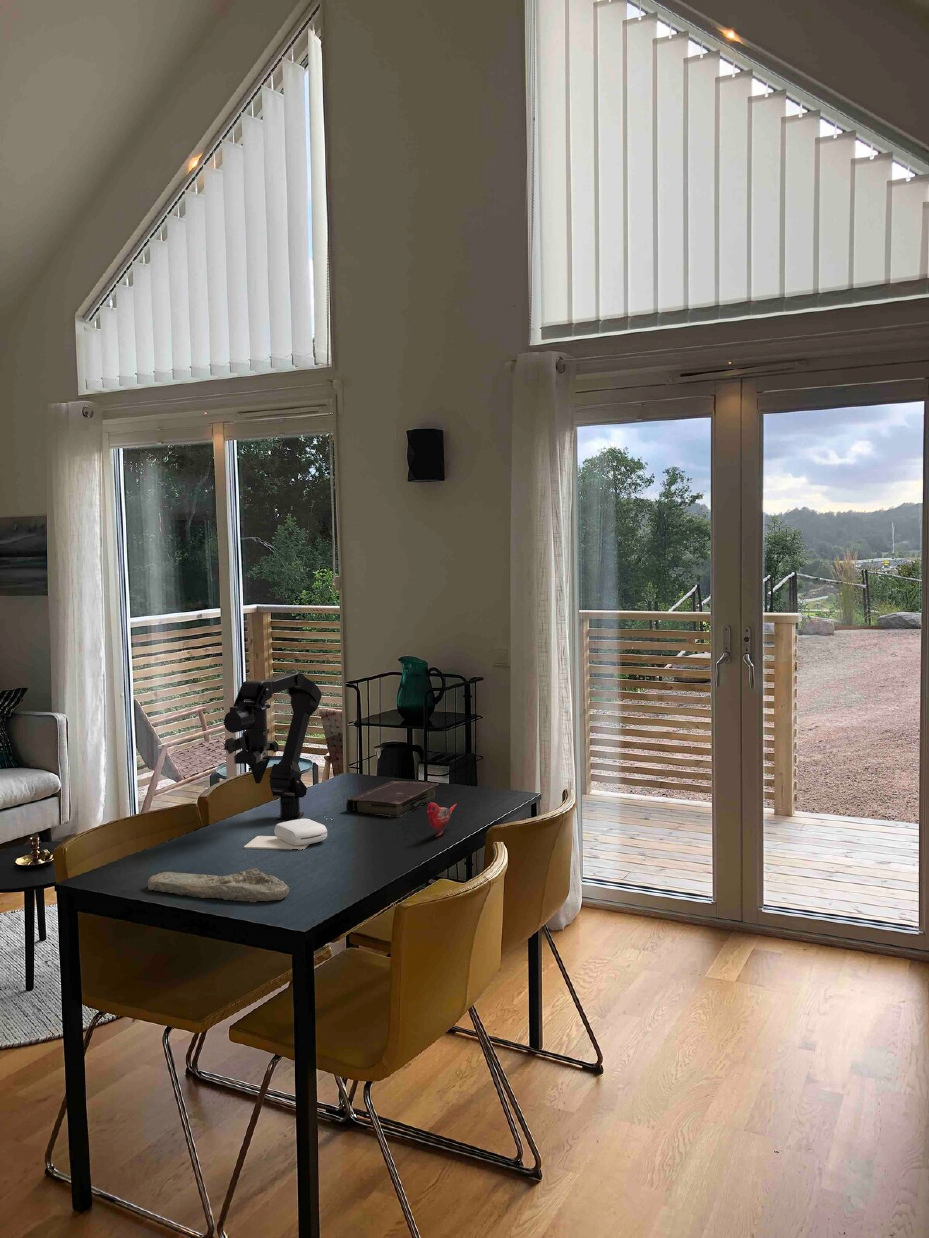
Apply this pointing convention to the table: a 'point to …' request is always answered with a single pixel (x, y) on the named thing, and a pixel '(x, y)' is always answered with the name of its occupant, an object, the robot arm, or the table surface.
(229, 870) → the table surface
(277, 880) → the elongated rock
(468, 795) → the table surface
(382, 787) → the diary
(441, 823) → the decorative bird figurine
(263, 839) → the mat
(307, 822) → the photo printer
